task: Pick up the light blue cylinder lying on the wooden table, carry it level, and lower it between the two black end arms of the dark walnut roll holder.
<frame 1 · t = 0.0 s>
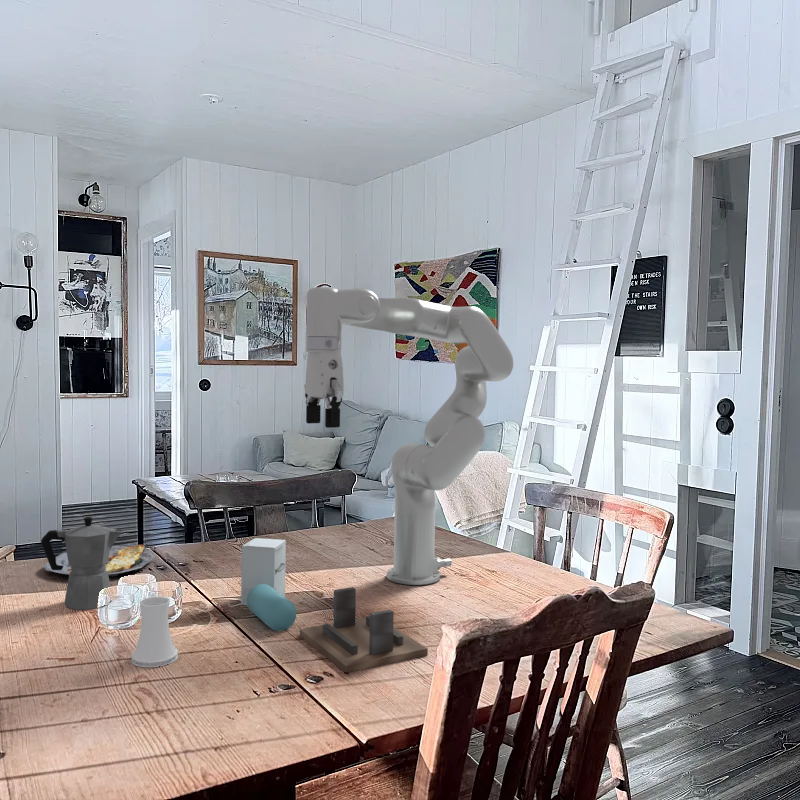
hand: (322, 425, 167), 37 cm above the table, tool pointing down, fingers open, 9 cm apart
coffeepot: (83, 604, 159), on the table
light blue cylinder: (270, 622, 151), on the table
vase: (154, 660, 132), on the table
roll holder: (361, 644, 140), on the table
food plate: (102, 568, 186), on the table
supplement box: (263, 602, 163), on the table
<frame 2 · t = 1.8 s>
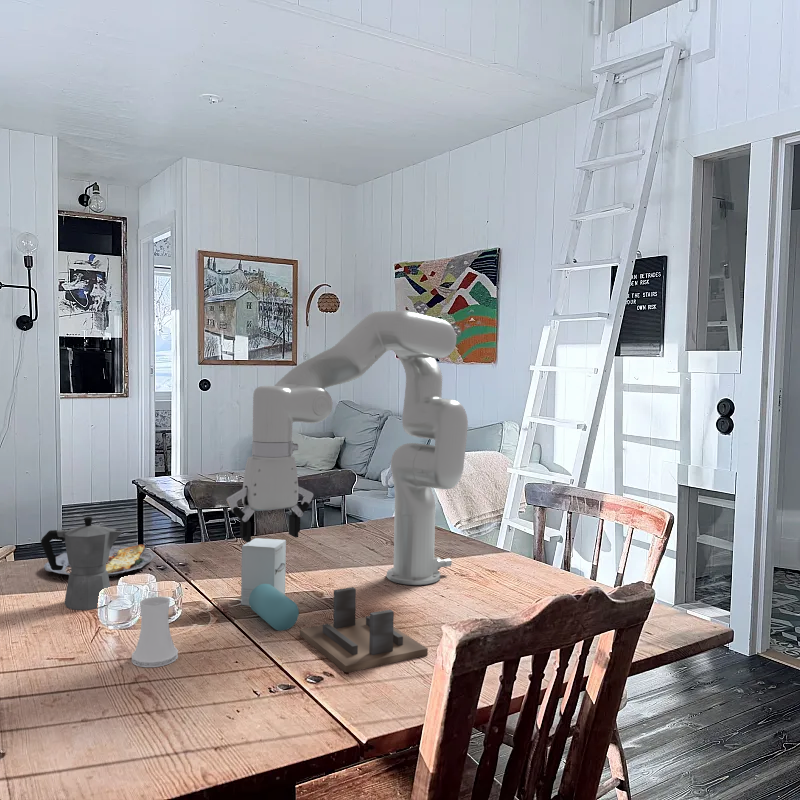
hand: (270, 538, 150), 16 cm above the table, tool pointing down, fingers open, 9 cm apart
light blue cylinder: (270, 621, 151), on the table, tilted 9°
everything else where it was.
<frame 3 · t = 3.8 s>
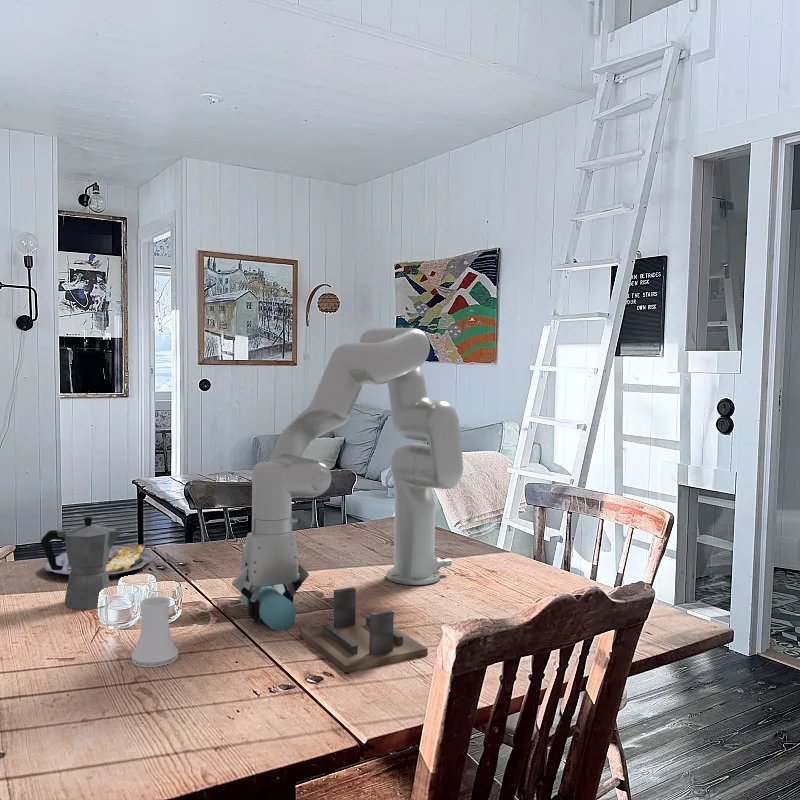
hand: (270, 616, 151), 1 cm above the table, tool pointing down, fingers closed on light blue cylinder, 6 cm apart
light blue cylinder: (270, 621, 151), on the table, touching gripper
everything else where it was.
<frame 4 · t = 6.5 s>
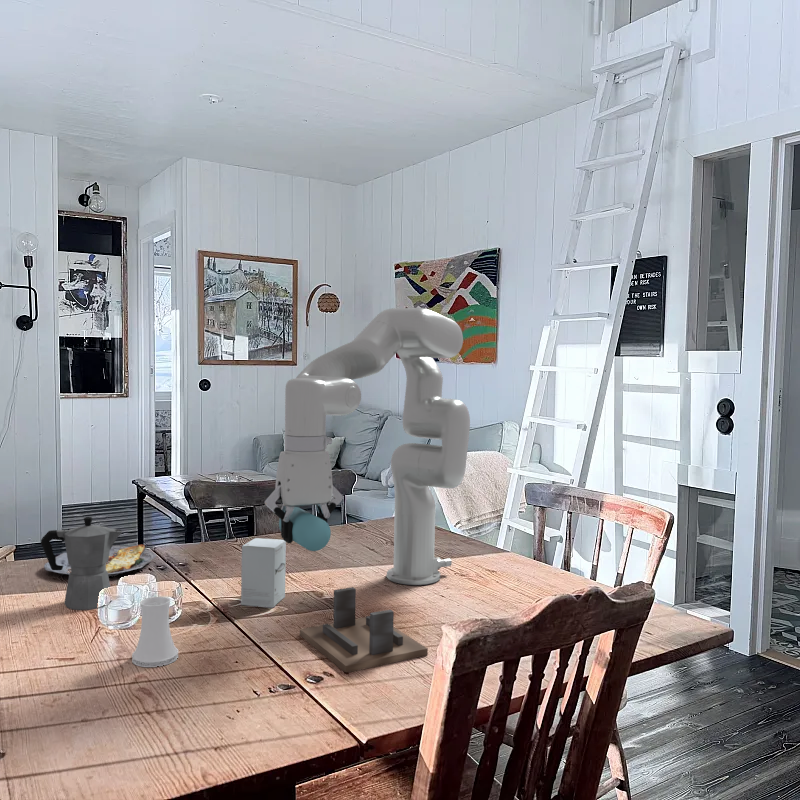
hand: (304, 538, 146), 17 cm above the table, tool pointing down, fingers closed on light blue cylinder, 5 cm apart
light blue cylinder: (303, 544, 146), point 16 cm above the table, touching gripper
everything else where it was.
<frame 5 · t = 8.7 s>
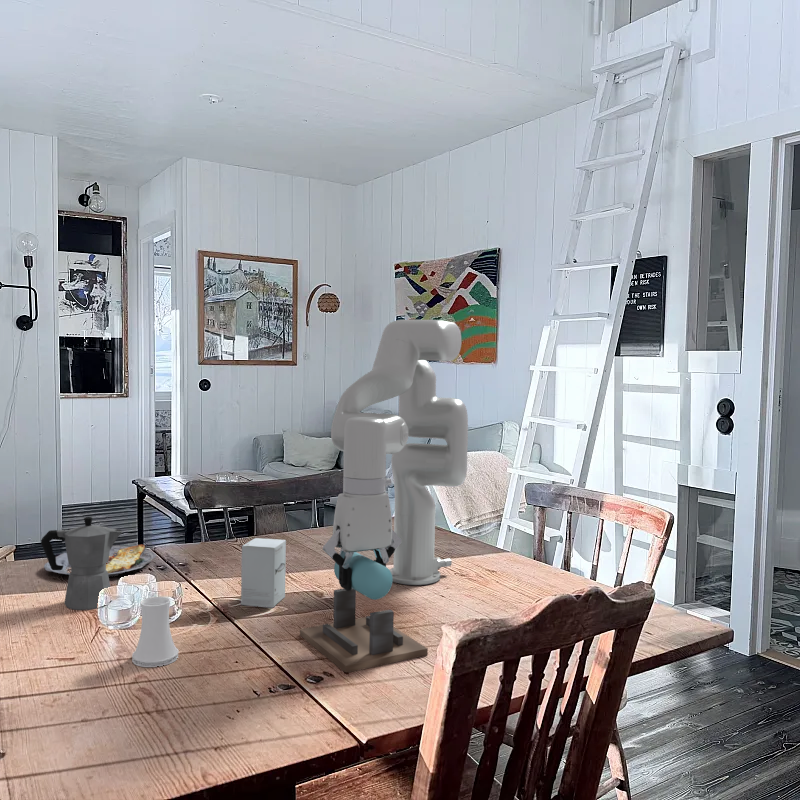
hand: (362, 585, 139), 11 cm above the table, tool pointing down, fingers closed on light blue cylinder, 5 cm apart
light blue cylinder: (361, 590, 139), point 10 cm above the table, touching gripper
everything else where it was.
when the fingers open (3 cm above the table, at t = 10.5 s): light blue cylinder stays where it is, resting on roll holder.
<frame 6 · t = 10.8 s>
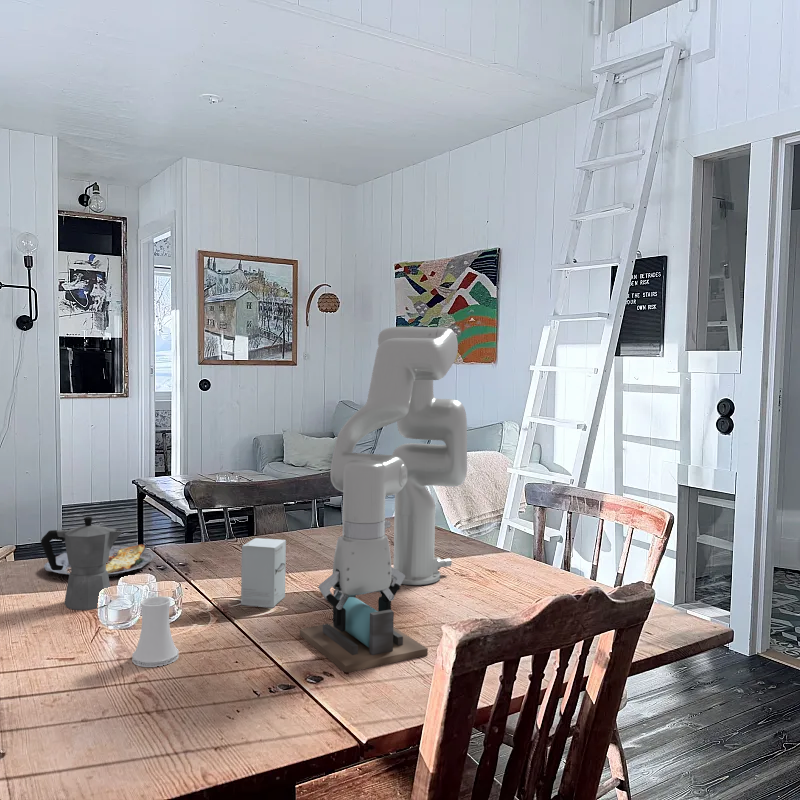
hand: (362, 624, 139), 4 cm above the table, tool pointing down, fingers open, 8 cm apart
light blue cylinder: (361, 638, 140), point 1 cm above the table, touching roll holder
everything else where it was.
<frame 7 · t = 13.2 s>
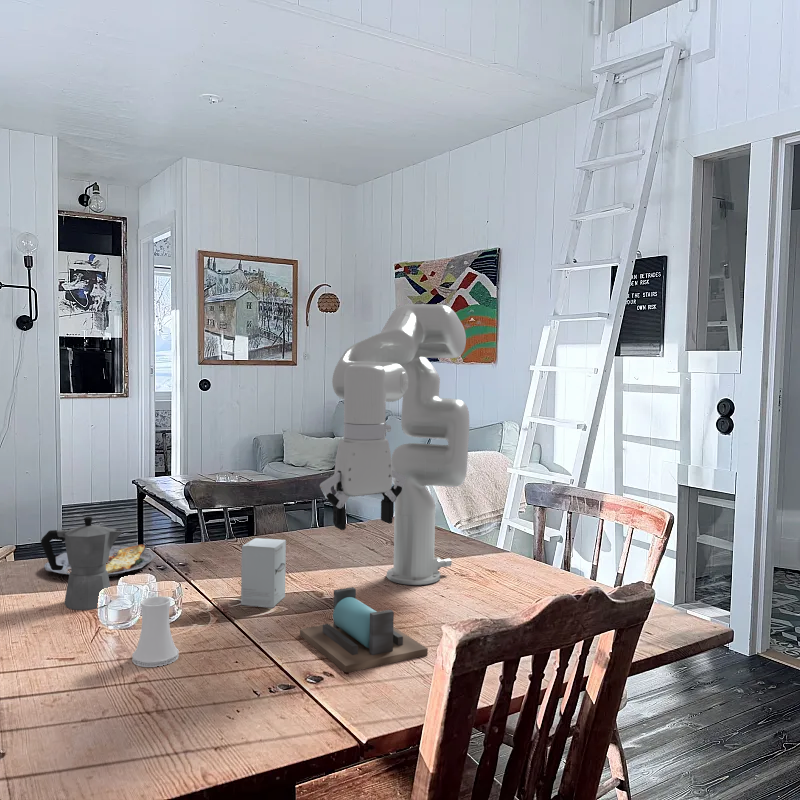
hand: (363, 525, 142), 21 cm above the table, tool pointing down, fingers open, 9 cm apart
nothing on the table moved.
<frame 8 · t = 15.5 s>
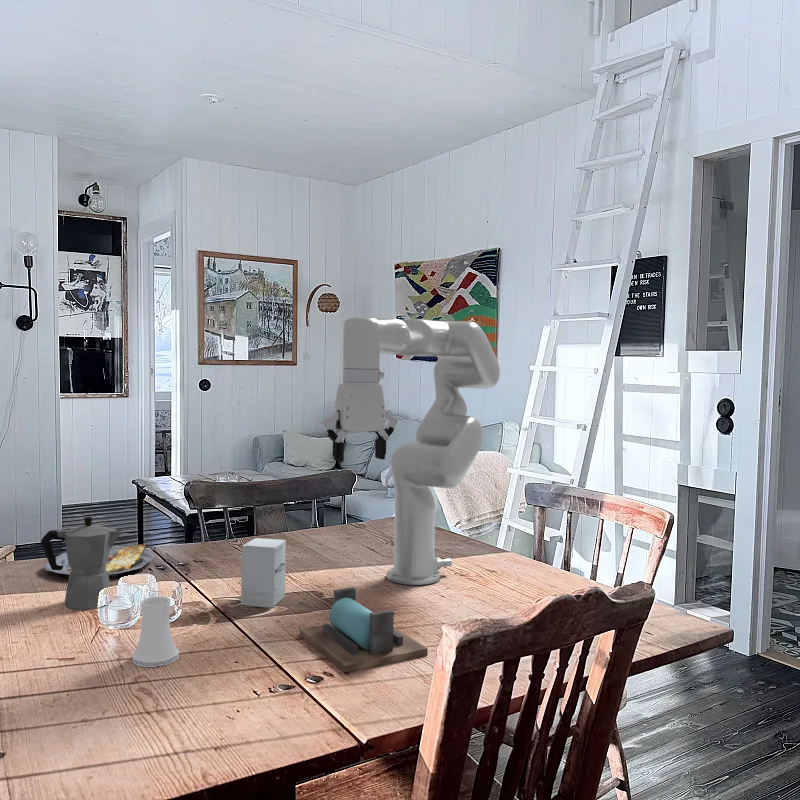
hand: (359, 459, 161), 30 cm above the table, tool pointing down, fingers open, 9 cm apart
light blue cylinder: (361, 637, 140), point 1 cm above the table, tilted 16°, touching roll holder
everything else where it was.
at the end: light blue cylinder 0.1 cm off-centre on the roll holder, point 1.3 cm above the roll holder's base; light blue cylinder touching roll holder; the gripper is holding nothing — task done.
